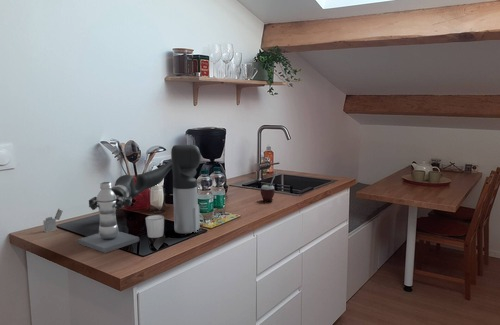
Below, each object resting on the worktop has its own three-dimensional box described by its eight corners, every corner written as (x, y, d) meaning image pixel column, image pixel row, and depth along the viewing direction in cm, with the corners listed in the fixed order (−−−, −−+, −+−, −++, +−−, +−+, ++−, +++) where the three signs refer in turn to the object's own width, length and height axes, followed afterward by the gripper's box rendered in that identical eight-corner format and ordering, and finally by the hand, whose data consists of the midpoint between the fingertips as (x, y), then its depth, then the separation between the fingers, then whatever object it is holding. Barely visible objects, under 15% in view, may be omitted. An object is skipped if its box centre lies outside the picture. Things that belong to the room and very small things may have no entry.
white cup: (157, 231, 156) (156, 213, 155) (168, 234, 152) (168, 216, 151) (142, 235, 151) (141, 217, 150) (153, 239, 147) (153, 220, 146)
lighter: (45, 232, 156) (43, 212, 155) (43, 231, 157) (42, 211, 156) (64, 228, 161) (63, 208, 159) (63, 227, 162) (61, 207, 161)
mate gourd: (257, 200, 204) (257, 171, 202) (269, 198, 209) (269, 169, 207) (267, 203, 198) (267, 173, 196) (279, 201, 203) (279, 171, 201)
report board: (139, 241, 145) (139, 237, 145) (105, 252, 134) (105, 248, 134) (112, 232, 154) (111, 229, 154) (78, 243, 143) (77, 239, 143)
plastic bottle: (112, 241, 140) (109, 185, 137) (95, 240, 142) (91, 184, 139) (122, 235, 146) (119, 181, 144) (105, 234, 148) (102, 180, 145)
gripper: (136, 205, 157) (126, 216, 141) (98, 205, 156) (84, 217, 140) (135, 186, 156) (125, 195, 140) (97, 186, 155) (83, 196, 139)
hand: (105, 206), depth 140 cm, fingers open, 8 cm apart
